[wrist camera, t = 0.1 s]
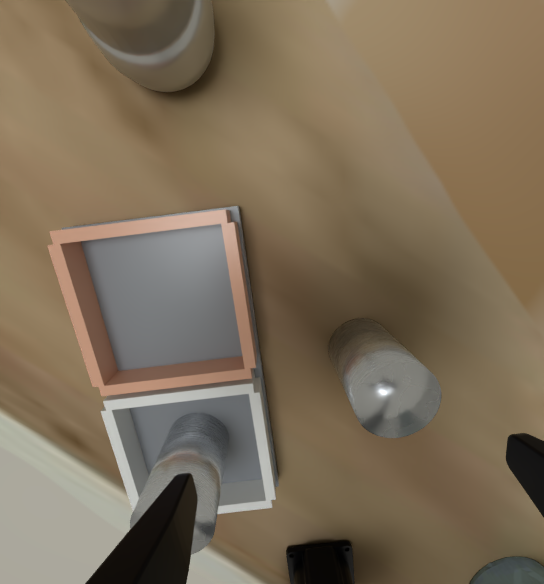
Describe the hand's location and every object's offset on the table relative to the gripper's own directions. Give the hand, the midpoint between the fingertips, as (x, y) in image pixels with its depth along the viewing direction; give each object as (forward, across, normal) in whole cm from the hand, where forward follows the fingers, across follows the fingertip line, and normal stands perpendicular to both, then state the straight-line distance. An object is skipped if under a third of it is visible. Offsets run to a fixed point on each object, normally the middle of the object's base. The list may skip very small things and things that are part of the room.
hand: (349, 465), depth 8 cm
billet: (+14, +9, +10) cm, 19 cm away
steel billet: (+14, -5, +4) cm, 16 cm away
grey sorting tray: (+14, +9, +4) cm, 18 cm away
